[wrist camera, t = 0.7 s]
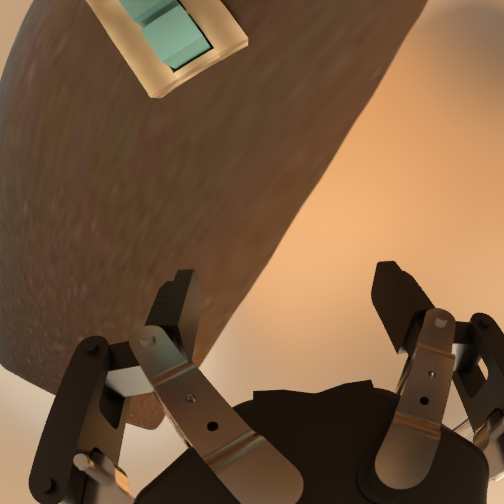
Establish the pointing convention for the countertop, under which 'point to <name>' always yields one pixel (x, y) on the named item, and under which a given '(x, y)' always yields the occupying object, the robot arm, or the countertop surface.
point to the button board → (145, 59)
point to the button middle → (147, 9)
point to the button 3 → (175, 38)
